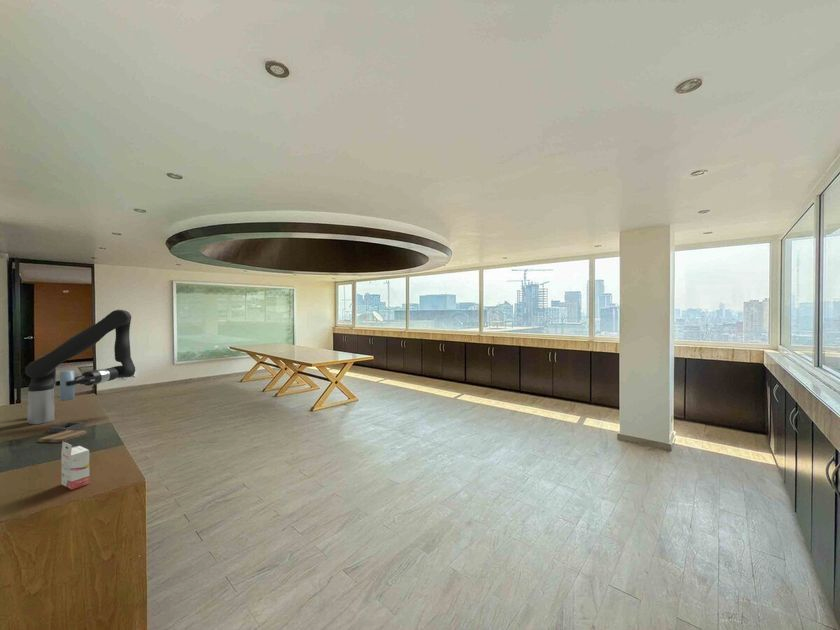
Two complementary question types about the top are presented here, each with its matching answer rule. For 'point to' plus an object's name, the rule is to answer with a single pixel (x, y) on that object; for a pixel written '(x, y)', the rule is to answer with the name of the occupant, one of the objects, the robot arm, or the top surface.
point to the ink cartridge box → (74, 466)
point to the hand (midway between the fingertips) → (61, 383)
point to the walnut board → (62, 436)
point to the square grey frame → (61, 427)
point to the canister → (66, 391)
